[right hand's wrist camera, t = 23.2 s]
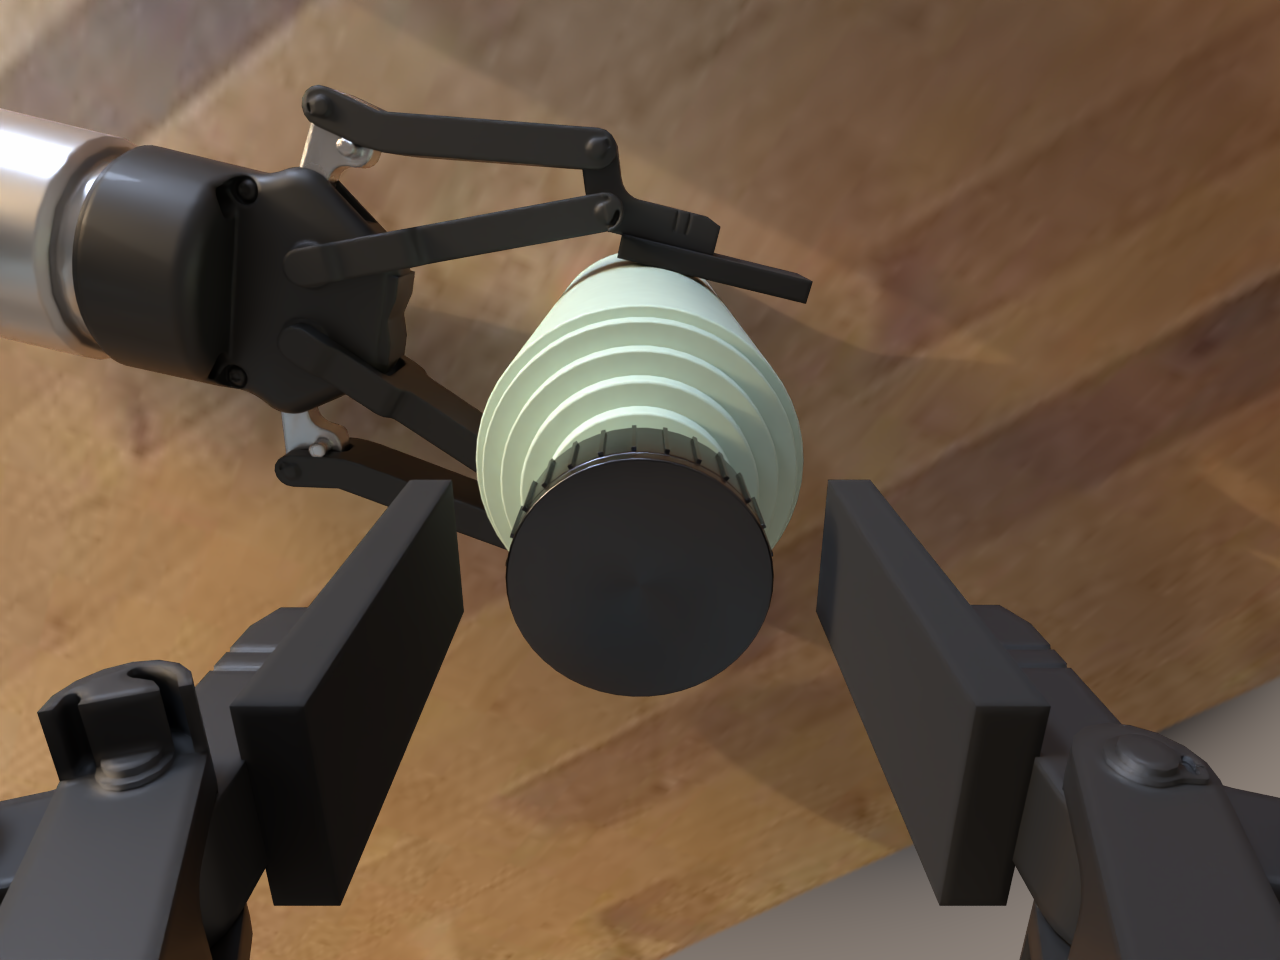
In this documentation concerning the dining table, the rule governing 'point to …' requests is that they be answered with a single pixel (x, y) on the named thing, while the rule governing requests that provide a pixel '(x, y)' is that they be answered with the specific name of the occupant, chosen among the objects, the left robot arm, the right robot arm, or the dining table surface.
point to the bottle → (639, 388)
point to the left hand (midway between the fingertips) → (766, 402)
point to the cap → (639, 563)
